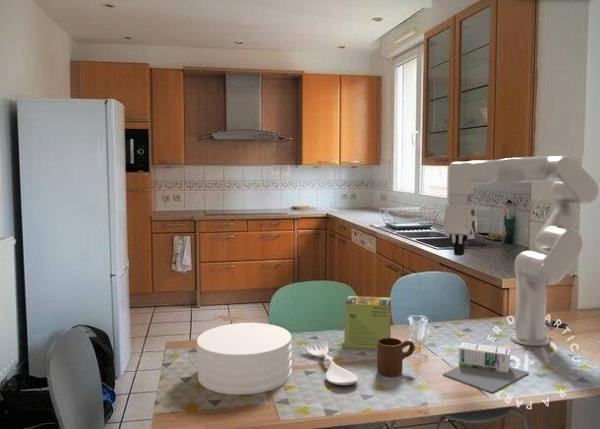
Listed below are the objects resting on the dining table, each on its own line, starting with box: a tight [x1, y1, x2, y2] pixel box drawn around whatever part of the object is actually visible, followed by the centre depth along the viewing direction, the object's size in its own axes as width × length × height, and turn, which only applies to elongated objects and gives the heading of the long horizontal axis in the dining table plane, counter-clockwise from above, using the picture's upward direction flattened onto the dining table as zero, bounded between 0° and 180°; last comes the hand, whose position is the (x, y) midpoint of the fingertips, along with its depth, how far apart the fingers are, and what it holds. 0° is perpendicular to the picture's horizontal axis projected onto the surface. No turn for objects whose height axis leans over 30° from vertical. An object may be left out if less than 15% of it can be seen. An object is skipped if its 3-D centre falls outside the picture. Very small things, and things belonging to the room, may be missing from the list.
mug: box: [376, 337, 416, 377], centre depth 158 cm, size 12×8×9 cm, turn 106°
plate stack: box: [196, 322, 293, 395], centre depth 157 cm, size 28×28×12 cm
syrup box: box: [458, 342, 511, 373], centre depth 160 cm, size 6×6×14 cm
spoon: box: [301, 340, 359, 386], centre depth 161 cm, size 9×32×4 cm, turn 16°
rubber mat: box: [442, 365, 529, 394], centre depth 155 cm, size 20×16×1 cm
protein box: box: [343, 295, 392, 350], centre depth 182 cm, size 10×15×16 cm
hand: (459, 254), depth 173 cm, fingers closed
